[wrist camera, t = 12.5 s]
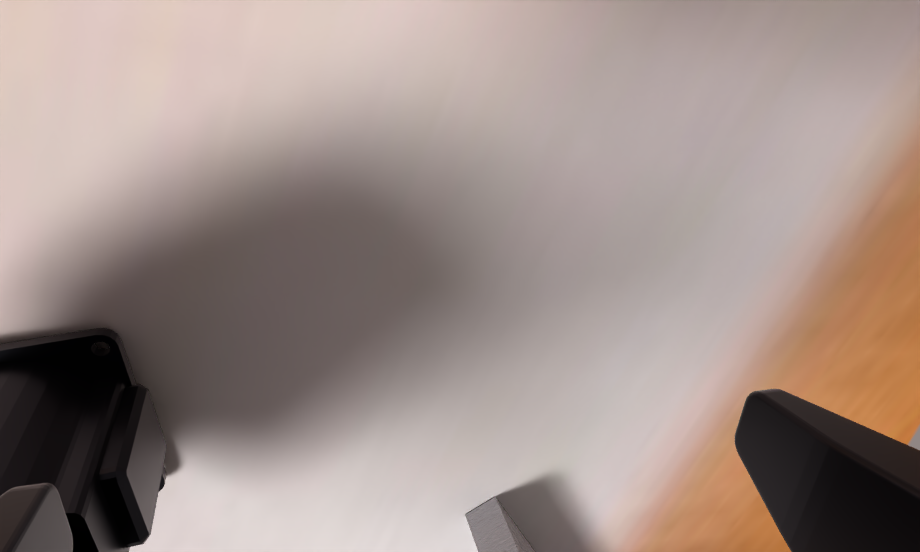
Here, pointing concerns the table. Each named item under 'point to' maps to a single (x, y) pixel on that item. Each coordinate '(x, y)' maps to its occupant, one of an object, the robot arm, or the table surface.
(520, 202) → the table surface
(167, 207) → the table surface
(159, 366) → the table surface
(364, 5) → the table surface
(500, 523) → the plate
